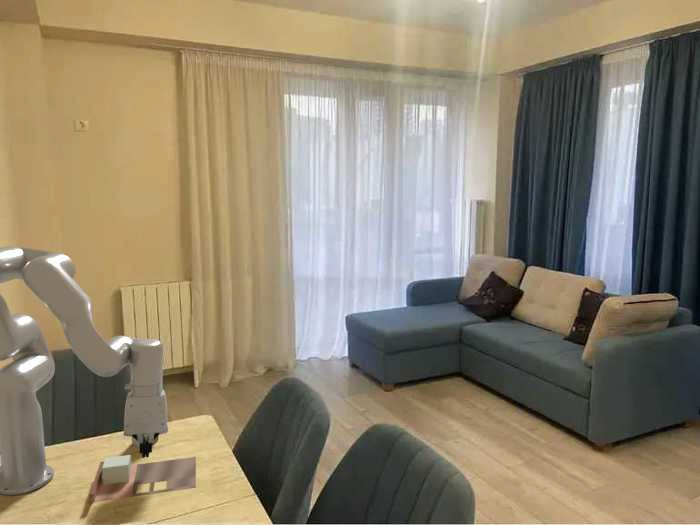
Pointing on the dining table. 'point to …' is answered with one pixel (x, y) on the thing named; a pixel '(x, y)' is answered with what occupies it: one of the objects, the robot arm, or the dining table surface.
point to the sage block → (116, 469)
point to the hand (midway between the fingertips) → (145, 454)
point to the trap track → (147, 479)
